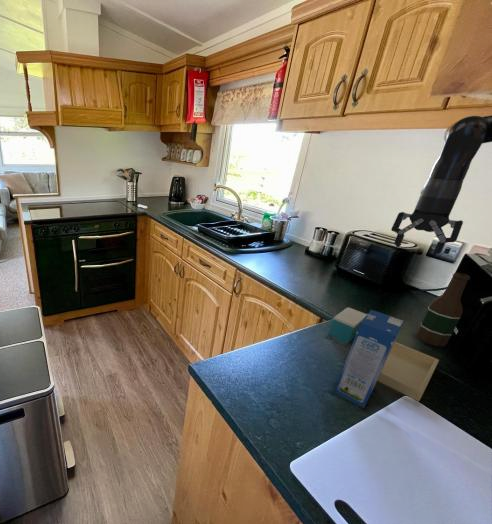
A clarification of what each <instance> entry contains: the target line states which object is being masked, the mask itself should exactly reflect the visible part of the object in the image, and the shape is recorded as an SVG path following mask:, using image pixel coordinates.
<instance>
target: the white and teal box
mask: <svg viewBox="0 0 492 524" xmlns="http://www.w3.org/2000/svg"><path fill="white" fill-rule="evenodd" d="M367 314H368V313H365V312H362V311H360V310H357V309H354V308H352V307H349V306H348V307H346V308H344V309H343V310H342V311H340V312H339V313H337V314H336V315H334V316H333V320H332V323H331V325H330V329H329V331H328V336H329V337H332V338H334V339H335V340H338V341H341V342H342V343H344V344H347V345H348V344H349V343H350V342H351V341H353V340H354V339H355V336H356V334H357V331H358V329H359V326H360V323H361V322H362V320H363V319H364V318H365V317H366V316H367Z"/></svg>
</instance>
